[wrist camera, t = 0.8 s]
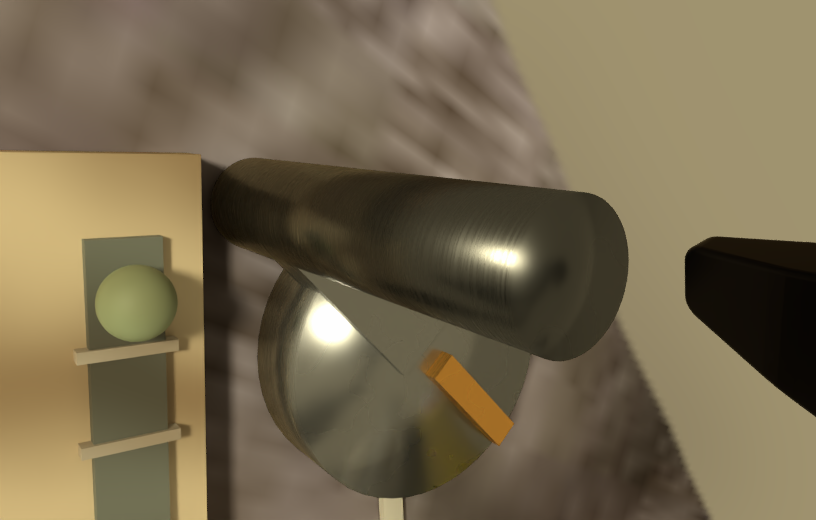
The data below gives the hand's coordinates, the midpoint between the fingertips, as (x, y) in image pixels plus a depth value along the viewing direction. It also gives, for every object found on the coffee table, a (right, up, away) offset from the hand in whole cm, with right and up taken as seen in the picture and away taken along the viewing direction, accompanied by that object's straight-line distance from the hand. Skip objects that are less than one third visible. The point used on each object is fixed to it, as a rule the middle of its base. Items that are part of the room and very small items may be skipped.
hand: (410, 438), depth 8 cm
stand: (-10, -1, +9) cm, 13 cm away
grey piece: (-2, +1, +15) cm, 15 cm away
